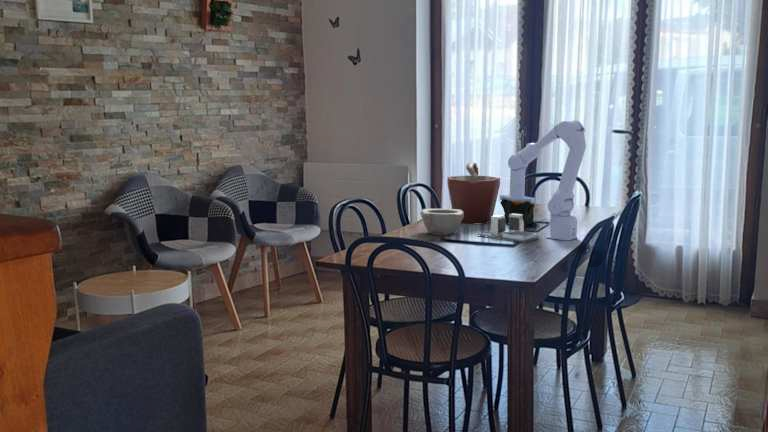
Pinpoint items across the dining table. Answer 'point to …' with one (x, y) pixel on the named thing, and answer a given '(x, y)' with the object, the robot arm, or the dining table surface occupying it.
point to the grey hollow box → (498, 232)
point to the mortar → (442, 220)
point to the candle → (521, 211)
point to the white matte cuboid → (516, 222)
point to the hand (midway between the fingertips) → (516, 219)
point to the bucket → (474, 195)
